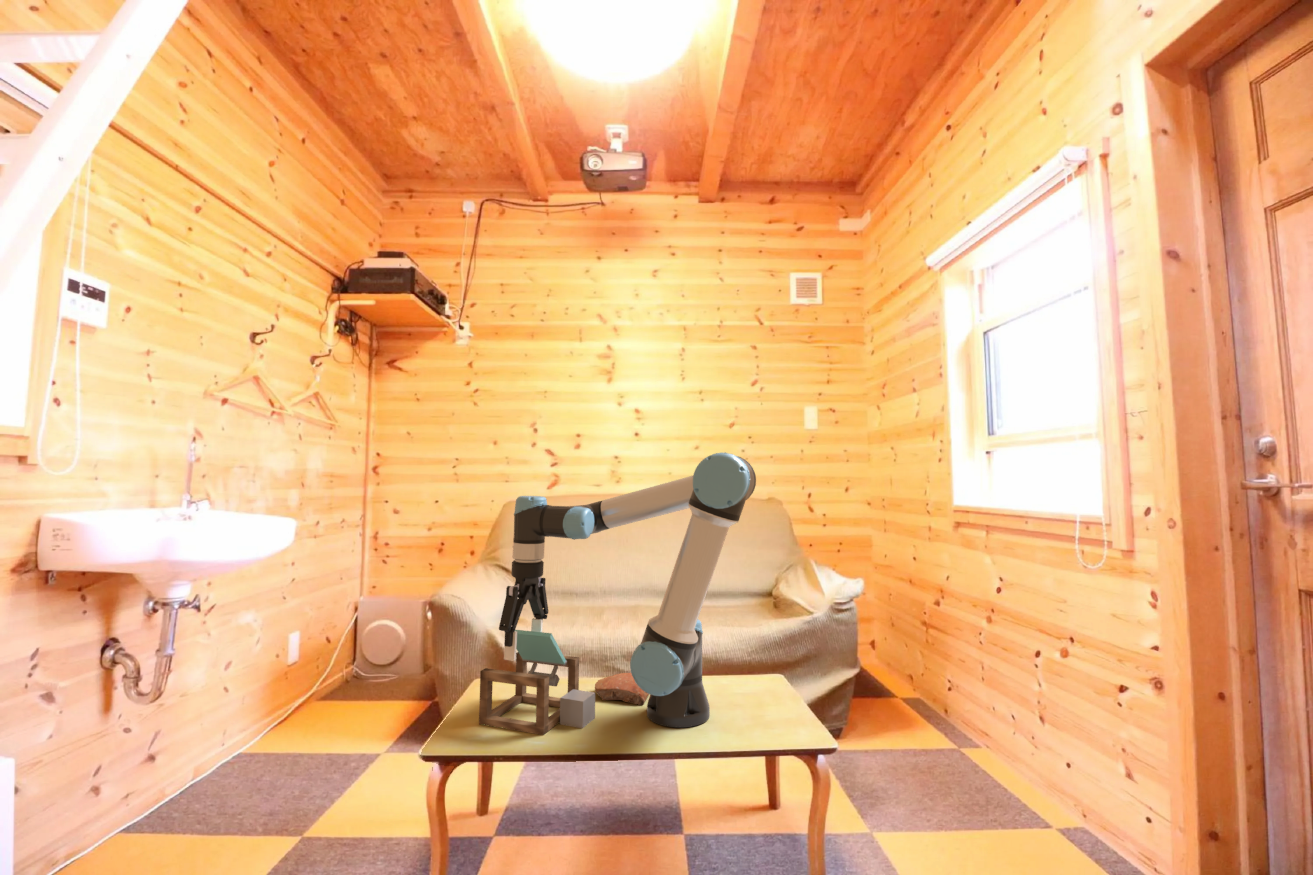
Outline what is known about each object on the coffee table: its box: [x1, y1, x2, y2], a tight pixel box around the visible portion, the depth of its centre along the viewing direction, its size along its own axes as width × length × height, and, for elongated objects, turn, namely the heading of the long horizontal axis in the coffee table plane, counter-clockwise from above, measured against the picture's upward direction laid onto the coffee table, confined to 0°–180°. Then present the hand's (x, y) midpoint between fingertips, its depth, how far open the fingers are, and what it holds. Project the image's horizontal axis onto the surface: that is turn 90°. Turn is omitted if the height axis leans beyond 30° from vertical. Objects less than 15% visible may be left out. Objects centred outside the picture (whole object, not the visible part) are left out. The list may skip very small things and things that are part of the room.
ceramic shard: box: [594, 672, 650, 706], centre depth 151 cm, size 15×6×15 cm
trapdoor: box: [515, 629, 567, 688], centre depth 139 cm, size 12×15×5 cm
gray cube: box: [559, 689, 596, 729], centre depth 133 cm, size 6×6×6 cm
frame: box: [478, 651, 580, 736], centre depth 137 cm, size 17×17×12 cm
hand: (523, 652), depth 136 cm, fingers open, 11 cm apart
